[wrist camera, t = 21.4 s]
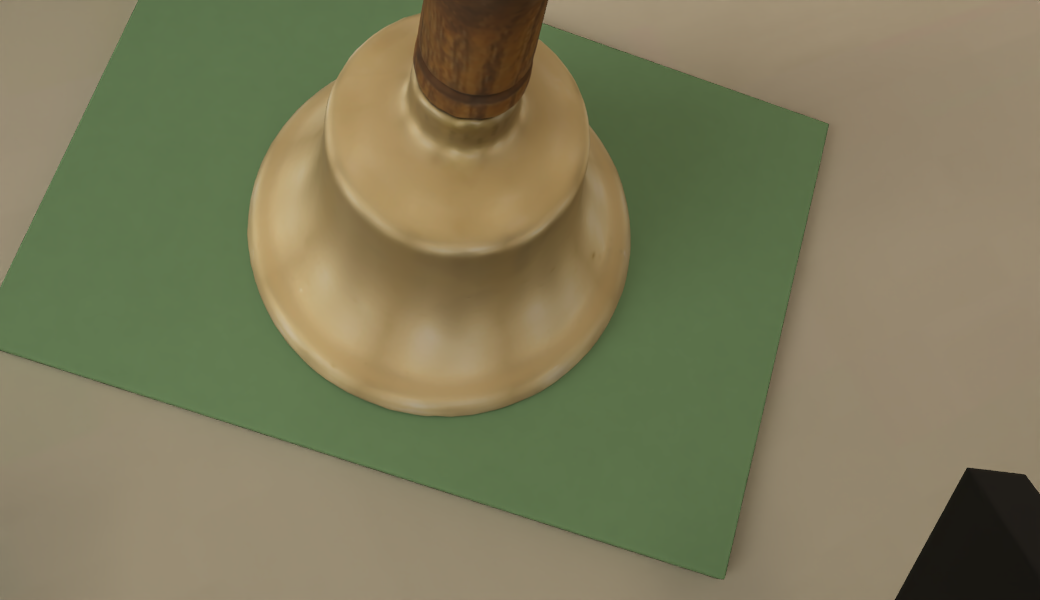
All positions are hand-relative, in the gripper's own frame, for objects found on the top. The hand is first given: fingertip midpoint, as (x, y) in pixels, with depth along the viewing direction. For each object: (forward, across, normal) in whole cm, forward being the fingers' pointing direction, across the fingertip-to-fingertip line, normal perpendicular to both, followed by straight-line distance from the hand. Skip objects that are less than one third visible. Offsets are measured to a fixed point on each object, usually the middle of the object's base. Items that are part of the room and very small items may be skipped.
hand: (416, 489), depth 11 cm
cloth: (+10, 0, -2) cm, 10 cm away
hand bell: (+10, 0, -2) cm, 10 cm away
